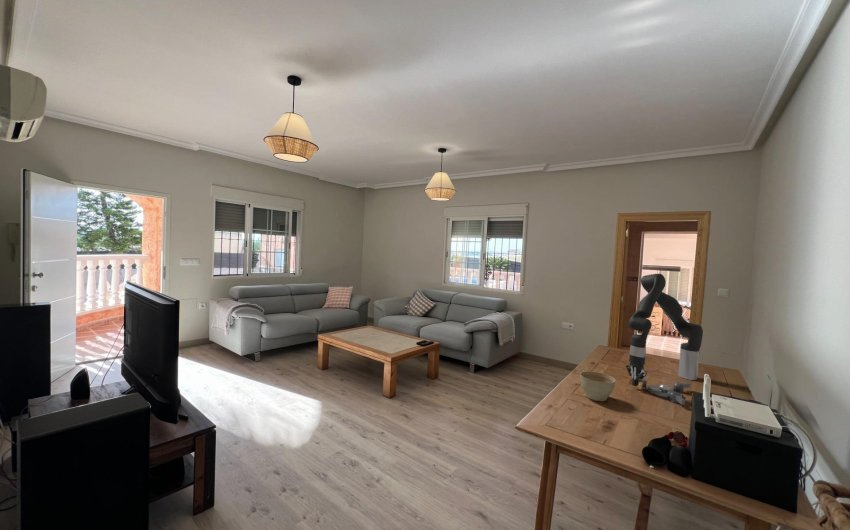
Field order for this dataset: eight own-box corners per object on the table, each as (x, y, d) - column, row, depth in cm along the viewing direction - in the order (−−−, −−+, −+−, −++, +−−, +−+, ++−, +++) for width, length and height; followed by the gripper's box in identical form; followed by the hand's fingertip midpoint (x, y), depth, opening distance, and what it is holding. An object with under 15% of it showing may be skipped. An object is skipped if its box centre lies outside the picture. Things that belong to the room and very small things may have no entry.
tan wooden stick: (637, 383, 200) (638, 377, 200) (647, 385, 197) (647, 380, 197) (634, 388, 192) (635, 382, 192) (644, 390, 189) (644, 385, 189)
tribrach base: (643, 382, 206) (643, 375, 205) (683, 392, 193) (684, 384, 193) (635, 392, 189) (636, 385, 189) (679, 404, 177) (680, 396, 177)
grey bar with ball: (679, 391, 191) (680, 385, 191) (671, 388, 195) (672, 382, 195) (692, 389, 194) (693, 383, 194) (684, 386, 198) (685, 380, 198)
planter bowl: (612, 407, 169) (614, 385, 169) (576, 398, 178) (577, 377, 177) (615, 396, 183) (616, 375, 182) (581, 388, 191) (582, 368, 191)
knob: (667, 397, 182) (668, 390, 182) (677, 398, 181) (677, 391, 181) (678, 405, 172) (678, 399, 172) (688, 406, 171) (688, 400, 171)
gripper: (622, 350, 199) (620, 381, 200) (641, 358, 187) (638, 390, 188) (634, 350, 201) (631, 380, 202) (653, 358, 188) (650, 390, 189)
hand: (634, 385), depth 195 cm, fingers closed
